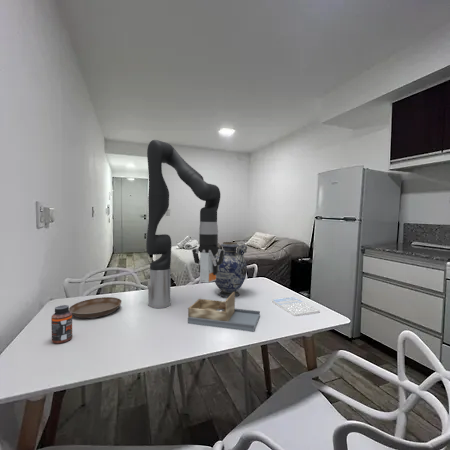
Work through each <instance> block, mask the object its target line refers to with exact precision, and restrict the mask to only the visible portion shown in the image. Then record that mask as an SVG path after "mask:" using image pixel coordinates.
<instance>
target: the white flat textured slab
mask: <svg viewBox="0 0 450 450" xmlns="http://www.w3.org/2000/svg"><path fill="white" fill-rule="evenodd" d="M271 303H273V304H274V305H276V306H278V307H279V308H280V309H282V310H284V311H285V312H287V313H289V314H290V315H292V316H294V317H303V316H309V315H314V314H319V313H321V311H320V309H319V308H317V307H314V306H313V305H311V304H309V303H308V302H305V301H303V300H301V299H299V298H297V297H295V296H292V297H283V298H282V297H281V298H274V299H272V300H271Z"/></svg>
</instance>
